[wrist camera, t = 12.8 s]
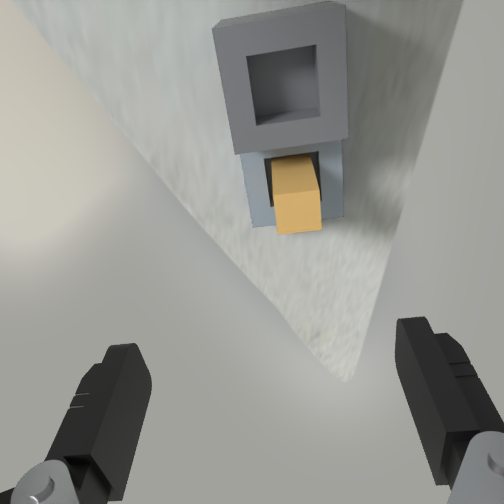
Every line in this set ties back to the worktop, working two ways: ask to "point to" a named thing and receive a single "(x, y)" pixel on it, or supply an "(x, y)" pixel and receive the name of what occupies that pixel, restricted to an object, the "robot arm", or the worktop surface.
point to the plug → (295, 194)
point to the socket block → (286, 97)
